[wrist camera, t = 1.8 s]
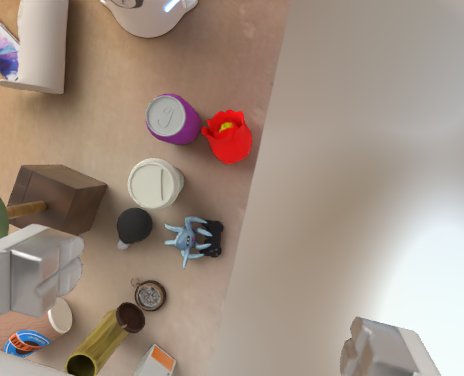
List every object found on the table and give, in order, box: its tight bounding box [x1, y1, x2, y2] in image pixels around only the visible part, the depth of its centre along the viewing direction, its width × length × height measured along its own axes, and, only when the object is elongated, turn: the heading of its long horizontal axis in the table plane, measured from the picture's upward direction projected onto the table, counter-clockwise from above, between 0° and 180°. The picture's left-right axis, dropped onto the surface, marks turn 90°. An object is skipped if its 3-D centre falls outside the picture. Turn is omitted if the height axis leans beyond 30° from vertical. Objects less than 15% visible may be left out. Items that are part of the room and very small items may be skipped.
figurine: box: [163, 216, 223, 269], centre depth 59 cm, size 10×12×8 cm
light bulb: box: [117, 208, 152, 250], centre depth 60 cm, size 6×6×10 cm
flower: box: [201, 110, 252, 164], centre depth 56 cm, size 8×8×8 cm
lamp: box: [0, 165, 107, 239], centre depth 47 cm, size 11×11×33 cm
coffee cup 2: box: [128, 158, 184, 210], centre depth 56 cm, size 8×8×12 cm
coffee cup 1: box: [0, 297, 72, 358], centre depth 61 cm, size 10×10×12 cm
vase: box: [65, 310, 129, 376], centre depth 57 cm, size 6×6×14 cm
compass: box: [116, 278, 166, 333], centre depth 60 cm, size 8×8×7 cm
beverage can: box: [146, 94, 201, 145], centre depth 54 cm, size 8×8×12 cm
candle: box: [0, 0, 69, 94], centre depth 56 cm, size 7×14×20 cm
